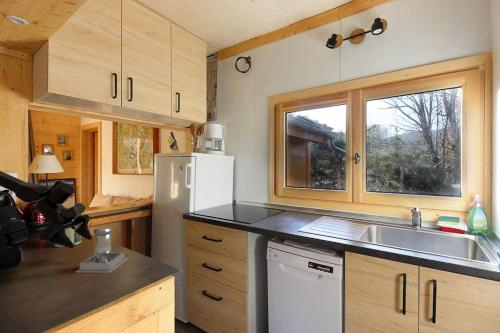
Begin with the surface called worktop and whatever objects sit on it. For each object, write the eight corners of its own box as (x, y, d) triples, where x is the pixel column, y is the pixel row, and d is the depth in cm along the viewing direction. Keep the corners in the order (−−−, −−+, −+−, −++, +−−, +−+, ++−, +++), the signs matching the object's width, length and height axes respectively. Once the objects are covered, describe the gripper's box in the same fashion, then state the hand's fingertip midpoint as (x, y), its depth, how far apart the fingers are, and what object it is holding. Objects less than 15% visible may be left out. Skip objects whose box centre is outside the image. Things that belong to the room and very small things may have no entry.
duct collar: (75, 272, 84) (75, 264, 84) (97, 258, 96) (97, 251, 96) (110, 272, 84) (110, 264, 84) (127, 258, 96) (127, 251, 96)
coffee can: (75, 238, 122) (75, 210, 121) (85, 242, 116) (85, 212, 116) (50, 244, 113) (49, 214, 113) (59, 248, 107) (59, 216, 107)
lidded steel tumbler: (98, 269, 86) (98, 231, 86) (90, 265, 89) (90, 229, 89) (115, 263, 90) (115, 228, 90) (107, 260, 94) (107, 226, 94)
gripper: (47, 201, 80) (80, 235, 80) (85, 194, 99) (112, 221, 99) (23, 224, 80) (56, 258, 80) (66, 213, 99) (93, 240, 99)
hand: (82, 243), depth 90 cm, fingers open, 9 cm apart
